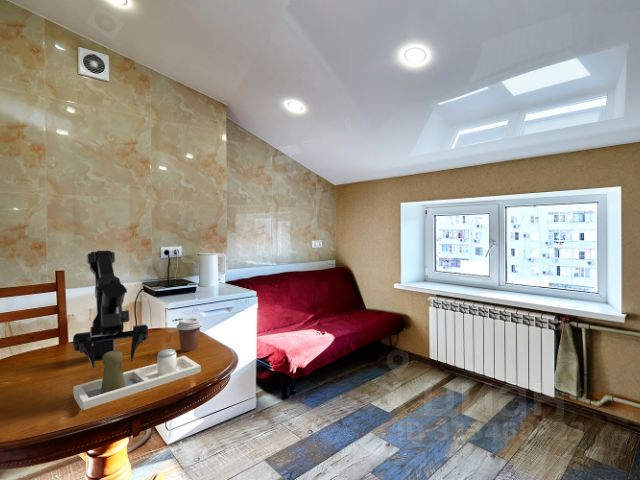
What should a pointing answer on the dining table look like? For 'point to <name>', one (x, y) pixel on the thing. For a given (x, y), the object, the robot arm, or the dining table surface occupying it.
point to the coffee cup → (189, 334)
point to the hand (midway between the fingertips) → (113, 364)
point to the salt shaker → (166, 362)
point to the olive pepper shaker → (112, 371)
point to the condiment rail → (132, 383)
